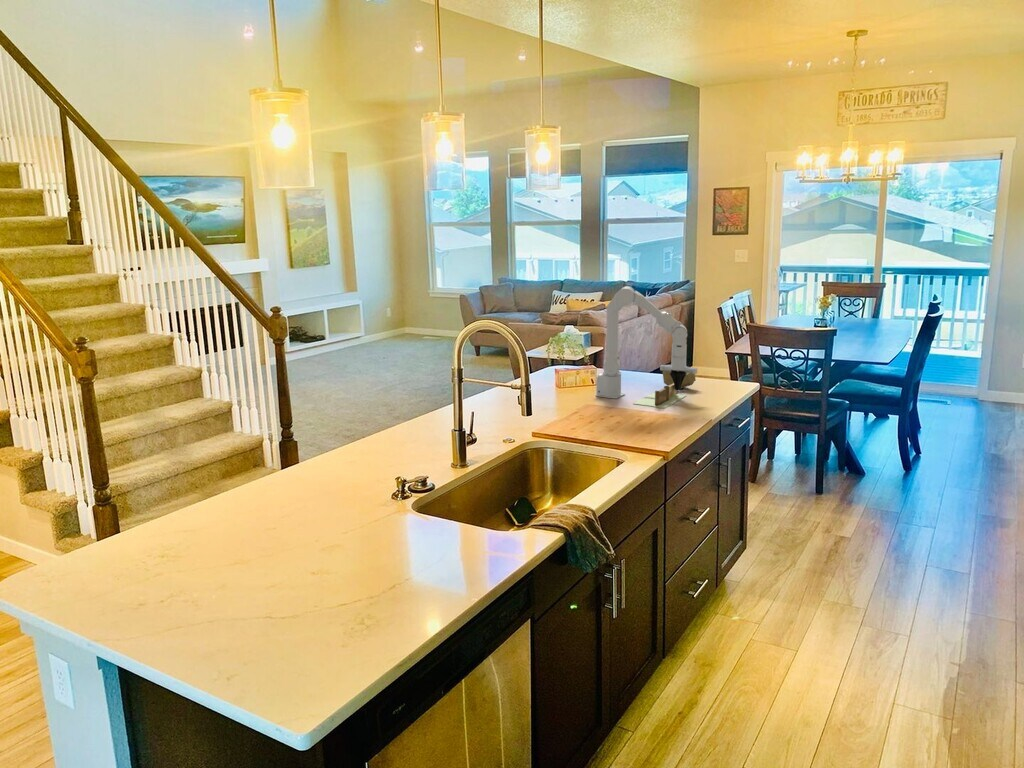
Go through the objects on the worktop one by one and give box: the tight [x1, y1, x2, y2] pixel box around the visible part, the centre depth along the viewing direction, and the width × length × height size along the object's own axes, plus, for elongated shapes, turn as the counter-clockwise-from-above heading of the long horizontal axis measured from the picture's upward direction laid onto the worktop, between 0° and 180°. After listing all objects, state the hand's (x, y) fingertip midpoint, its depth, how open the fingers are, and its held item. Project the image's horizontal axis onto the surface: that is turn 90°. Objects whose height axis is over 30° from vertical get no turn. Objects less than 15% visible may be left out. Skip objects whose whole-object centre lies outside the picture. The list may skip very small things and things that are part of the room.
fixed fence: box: [654, 385, 669, 406], centre depth 295 cm, size 2×11×6 cm, turn 147°
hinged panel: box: [669, 382, 678, 398], centre depth 303 cm, size 8×2×5 cm, turn 147°
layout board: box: [633, 392, 687, 409], centre depth 300 cm, size 13×22×1 cm, turn 147°
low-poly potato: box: [662, 370, 697, 389], centre depth 319 cm, size 15×11×12 cm
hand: (677, 389), depth 302 cm, fingers closed
